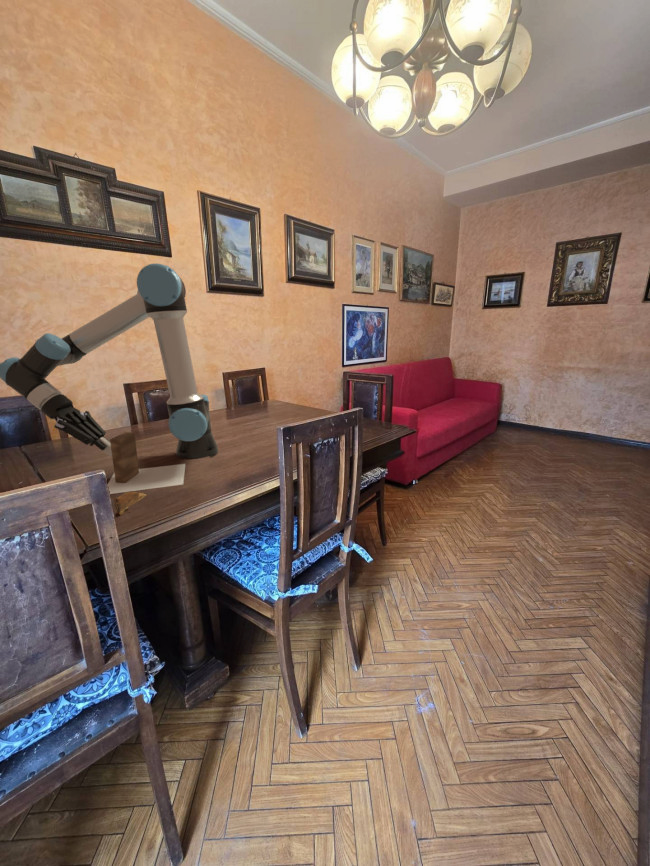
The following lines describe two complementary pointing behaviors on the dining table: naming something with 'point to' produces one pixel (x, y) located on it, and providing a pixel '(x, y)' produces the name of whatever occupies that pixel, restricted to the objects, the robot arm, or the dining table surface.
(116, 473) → the walnut slab
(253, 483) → the dining table surface
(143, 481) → the white paper sheet
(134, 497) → the shard
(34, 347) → the robot arm
